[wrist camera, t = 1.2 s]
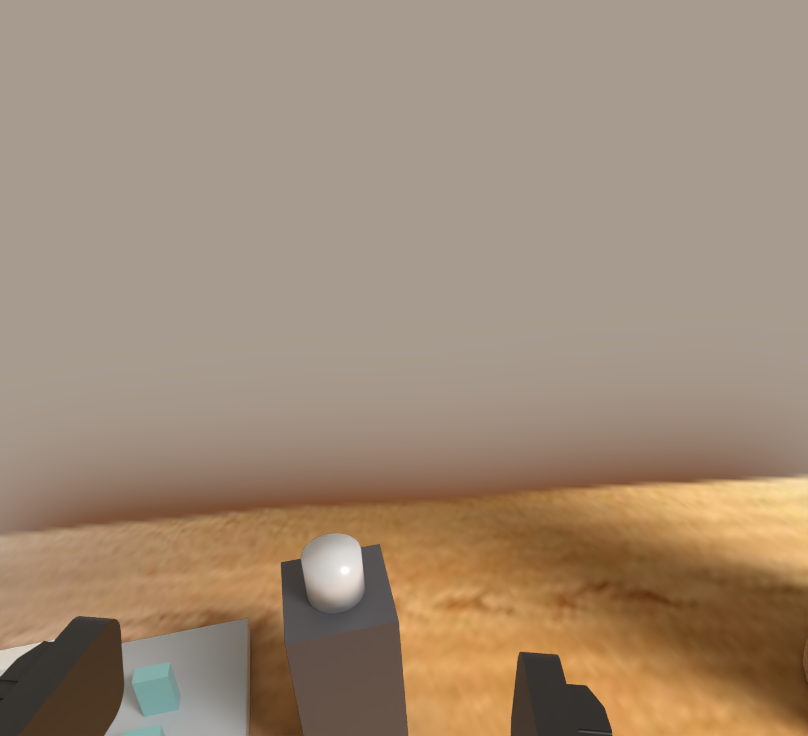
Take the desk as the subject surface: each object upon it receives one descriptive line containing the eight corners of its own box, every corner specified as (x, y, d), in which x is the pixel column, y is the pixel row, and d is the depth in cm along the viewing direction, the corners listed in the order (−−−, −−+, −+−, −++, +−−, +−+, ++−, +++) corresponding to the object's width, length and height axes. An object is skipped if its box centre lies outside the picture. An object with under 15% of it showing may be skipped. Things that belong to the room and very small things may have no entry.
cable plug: (392, 677, 33) (376, 509, 28) (410, 760, 29) (395, 583, 24) (306, 695, 32) (274, 527, 27) (313, 784, 28) (277, 607, 23)
